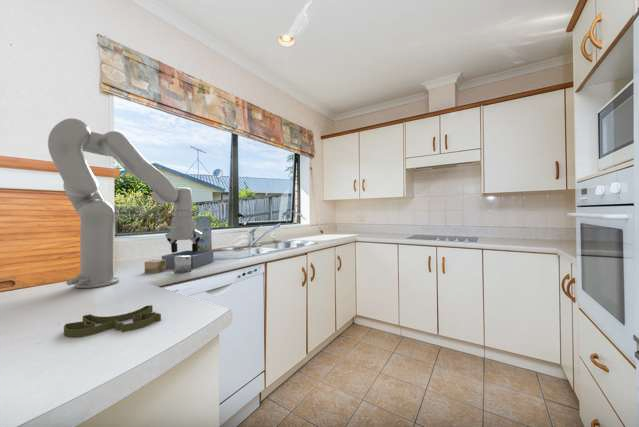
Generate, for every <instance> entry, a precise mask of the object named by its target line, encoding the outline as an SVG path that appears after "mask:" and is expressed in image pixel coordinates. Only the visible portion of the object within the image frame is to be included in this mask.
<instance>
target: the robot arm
mask: <svg viewBox="0 0 639 427" xmlns="http://www.w3.org/2000/svg"><path fill="white" fill-rule="evenodd" d="M49 132H50V133H49V134H48V139H47V147H48V151H49V155H50V158H51V159H52V162H53V164H54V165H55V168H56V169H57V172H58V173H59V175H60V178H61V179H62V181H63V190H64V193H65V194H66V196H67V197H68V199H69V202H70V203H71V205H72V207H73V208H74V210H75V212H76V214H77V215H78V217H79V219H80V230H79V231H80V232H79V234H80V236H79V237H80V238H79V241H80V242H79V243H80V252H79V253H80V265H79V266H80V269H79V270H80V273H79V274H77V276H76V277H75V278H71V279H67V281H66V286H73V285H74V288H76V289H93V288H99V287H106V286H110V285H113V284H116V283H118V282H119V280H120V279H119V277H115V276H114V275H115V274H114V271H115V270H114V268H115V267H114V266H115V265H114V260H115V258H114V256H115V255H114V252H115V251H114V249H115V248H114V246H115V245H114V244H115V243H114V237H115V236H114V230H115V220H116V218H115V217H116V212H115V209H114V207H113V205H112V204H111V203H110V202H109V201H108V200H105V199H104V197H103V195H102V194H101V192H100V190H99V188H100V184H99V181H98V179H97V178H96V175H95V174H94V172H93V171H92V169H91V168H90V165H89V164H88V160H86V158H85V155H84V152H86V153H90V154H94V155H100V156H105V157H112V158H113V159H114V160H115V161H116V162H117V163H118V164H119V165H120V166H121V167H122V168H123V169H124V170H125V172H126V173H128V174H129V176H132V178H135V179H138V180H140V181H141V182H143V183H145V184H146V186H148V187H149V188H150V189H151V190H152V192H151V198H152V200H153V202H155V203H157V204H159V205H160V204H161V205H165V204H166V205H167V204H173V212H171V216H173V217H172V218H171V221H170V222H171V223H170V231H169V232H167V233H166V234H165V238H166V240H167V241H168V242H169V244H170V250H171V254H172V253H177V252H178V243H177V241H185V240H186V241H189V240H190V241H191V242H192V243H191V250H192V252H197V250H198V242H199V241H200V240H201V238H202V235H203V233H201V232H199V231H197V230H196V219H195V218H194V217H193V196H192V194H193V193H192V189H191V188H190V187H185V186H184V187H182V186H181V187H175V185H174V184H173V183H172V181H171V180H170V179H169V178H168V177H167V176H165V174H164V173H162V172H161V171H160V170H159V169H158V168H156V167H155V166H154V165H153V164H151V163H150V162H149V161H148V160H147V159H146V158H145V156H143V155H142V153H141V152H140V151H139V150H138V149H137V147H135V145H133V143H132V142H131V141H130V140H129V139H128V138H127V137H126V136H125V135H124V134H123V133H121V132H120V131H117V130H112V131H107V132H106V133H103V134H102V133H98V132H94V131H91V129H90V127H89V126H88V124H86V123H85V122H84V121H82V120H81V119H77V118H66V119H63V120H61V121H59V122H58V123H57V124H55V125H54V126H53V128H52V129H51V130H50V131H49ZM196 234H197V235H198V238H196Z"/></svg>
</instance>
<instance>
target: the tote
mask: <svg viewBox="0 0 639 427" xmlns="http://www.w3.org/2000/svg"><path fill="white" fill-rule="evenodd" d="M182 255H190V256H191V268H194V269H196V268H199V267H202V266H205V265H207V263H208V264H210V263H213V262H214V250H212V251H197V252H192V249H191V250H187V249H186V250H182V251H177V252H175V253H172V252H171V253H169V254H163V255H161V260H166V269H175V256H182ZM212 261H213V262H212ZM209 262H210V263H209ZM204 264H205V265H204ZM201 265H202V266H201Z"/></svg>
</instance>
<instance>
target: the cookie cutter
mask: <svg viewBox="0 0 639 427" xmlns="http://www.w3.org/2000/svg"><path fill="white" fill-rule="evenodd" d="M153 310H154V309H153V305H152V304H150V305H144V306H143V307H142V308H139V309H136V310H134V311H131V312H128V313H122V314H117V315H111V316H97V315H93V314H91V313H90V314H86V315H82V321H75V322H68V323H65V324H64V326H63V336H64V337H65V338H70V339H76V338H77V339H79V338H84V337H88V336H93V335H96V334H99V333H102V332H106V331H108V330H111V329H114V330H115V331H121V333H126V332H131V331H135V330H140V329H143V328H146V327H148V326H150V325H153V324H154V323H155V322H160V321H162V314H161V313H159V312H155V311H154V312H153ZM129 320H132V322H130V323H124V322H126V321H129Z"/></svg>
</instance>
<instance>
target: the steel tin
mask: <svg viewBox="0 0 639 427" xmlns="http://www.w3.org/2000/svg"><path fill="white" fill-rule="evenodd" d="M191 271H192V269H191V256H190V255H182V256H175V268H174V274H187V273H191Z"/></svg>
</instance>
